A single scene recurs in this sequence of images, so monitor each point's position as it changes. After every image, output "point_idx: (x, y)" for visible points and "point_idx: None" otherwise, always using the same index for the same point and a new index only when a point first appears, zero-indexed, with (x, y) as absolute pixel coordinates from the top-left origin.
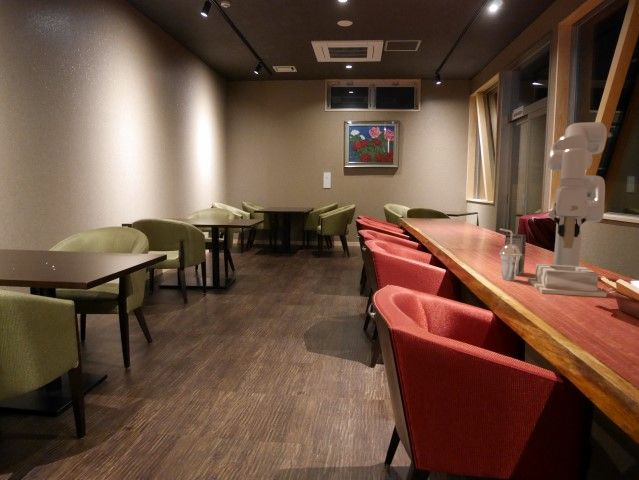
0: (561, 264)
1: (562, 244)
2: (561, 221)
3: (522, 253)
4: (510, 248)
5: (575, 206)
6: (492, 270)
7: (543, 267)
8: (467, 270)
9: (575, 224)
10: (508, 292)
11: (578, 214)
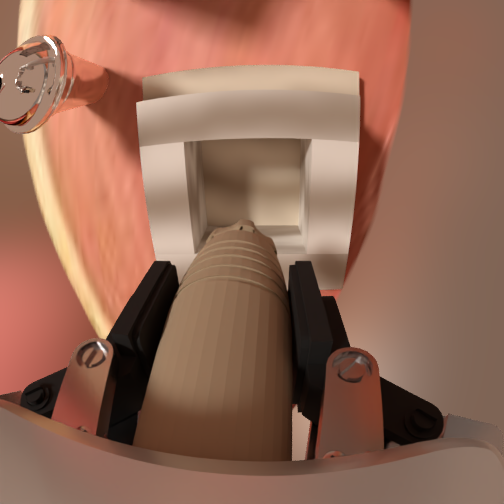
0: None
1: (207, 241)
2: (123, 431)
3: None
4: (4, 121)
5: None
6: None
7: (153, 203)
8: (22, 10)
9: (306, 388)
10: (97, 283)
11: None
